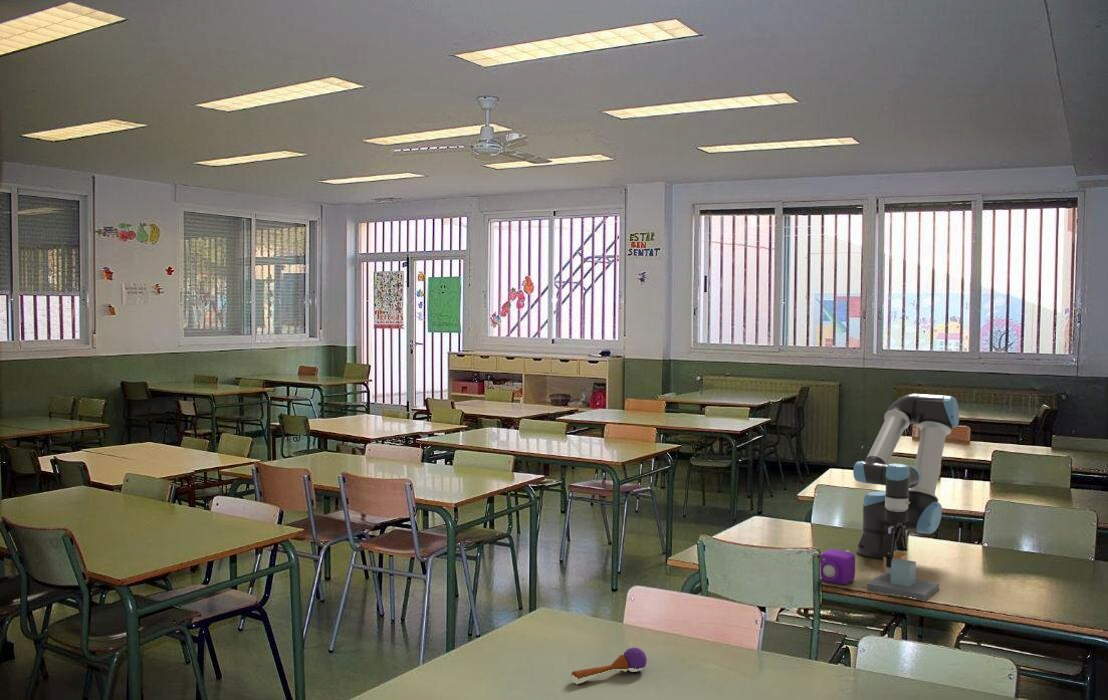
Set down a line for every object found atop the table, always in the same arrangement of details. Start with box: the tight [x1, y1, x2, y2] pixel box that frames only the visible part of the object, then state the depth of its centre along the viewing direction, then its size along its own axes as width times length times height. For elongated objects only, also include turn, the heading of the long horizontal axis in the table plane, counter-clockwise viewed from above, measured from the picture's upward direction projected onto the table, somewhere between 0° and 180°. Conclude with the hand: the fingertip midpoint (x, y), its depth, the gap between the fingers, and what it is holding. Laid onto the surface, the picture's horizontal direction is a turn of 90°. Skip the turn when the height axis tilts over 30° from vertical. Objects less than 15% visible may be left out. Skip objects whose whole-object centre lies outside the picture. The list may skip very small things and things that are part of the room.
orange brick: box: [882, 551, 908, 573], centre depth 309 cm, size 6×6×7 cm
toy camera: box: [820, 548, 856, 585], centre depth 298 cm, size 11×14×10 cm
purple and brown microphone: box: [571, 646, 648, 679], centre depth 218 cm, size 6×6×20 cm
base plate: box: [866, 572, 940, 602], centre depth 291 cm, size 18×16×2 cm
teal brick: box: [891, 559, 917, 587], centre depth 291 cm, size 6×6×7 cm
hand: (894, 572), depth 309 cm, fingers open, 10 cm apart
